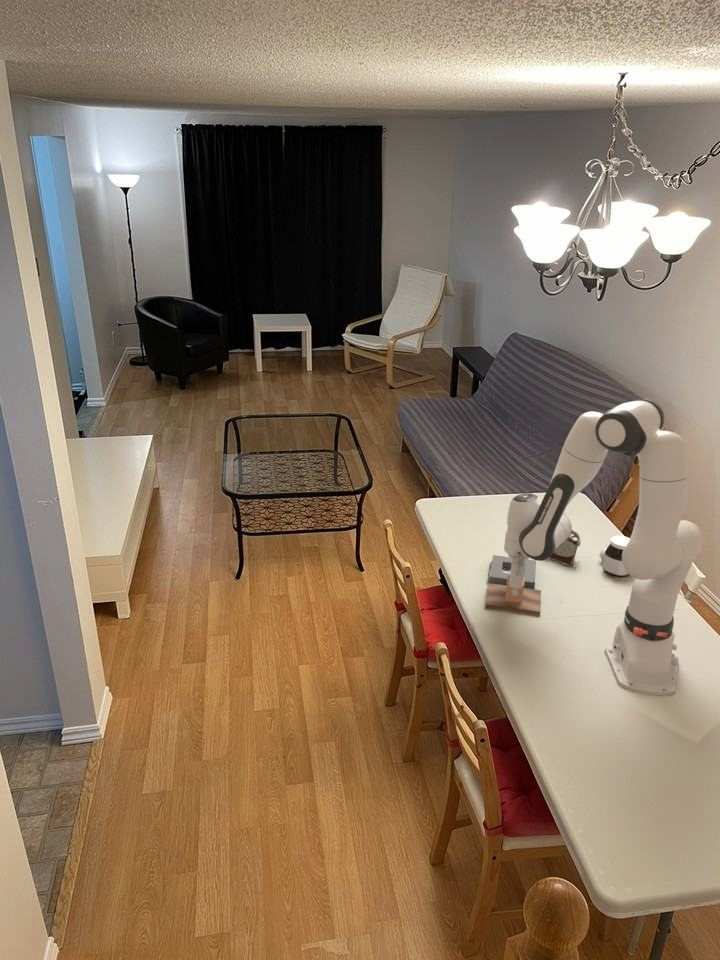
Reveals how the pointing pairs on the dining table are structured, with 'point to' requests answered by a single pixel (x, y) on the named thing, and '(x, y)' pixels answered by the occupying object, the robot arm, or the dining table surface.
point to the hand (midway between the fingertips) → (515, 585)
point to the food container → (567, 549)
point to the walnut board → (528, 605)
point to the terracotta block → (514, 597)
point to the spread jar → (614, 557)
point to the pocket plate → (501, 578)
